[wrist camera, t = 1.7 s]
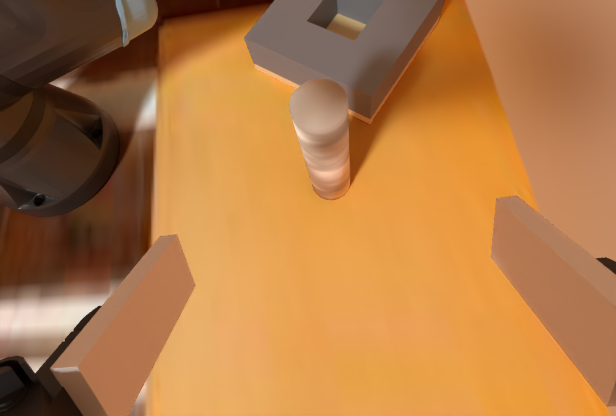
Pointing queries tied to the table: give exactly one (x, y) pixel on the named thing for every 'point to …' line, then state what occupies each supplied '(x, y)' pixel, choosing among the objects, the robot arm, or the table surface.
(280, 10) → the socket block
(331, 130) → the birch peg
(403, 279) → the table surface
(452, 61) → the table surface
